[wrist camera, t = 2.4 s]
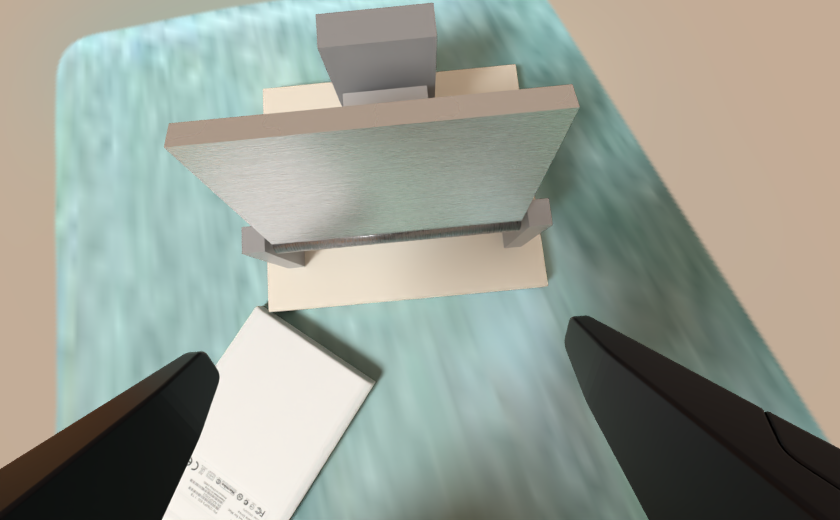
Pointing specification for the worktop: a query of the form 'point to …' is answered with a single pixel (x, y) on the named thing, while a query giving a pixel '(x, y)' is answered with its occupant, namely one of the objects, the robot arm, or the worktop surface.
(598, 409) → the robot arm
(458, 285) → the board
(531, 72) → the worktop surface
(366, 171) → the brushed grey panel
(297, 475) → the external hard drive
